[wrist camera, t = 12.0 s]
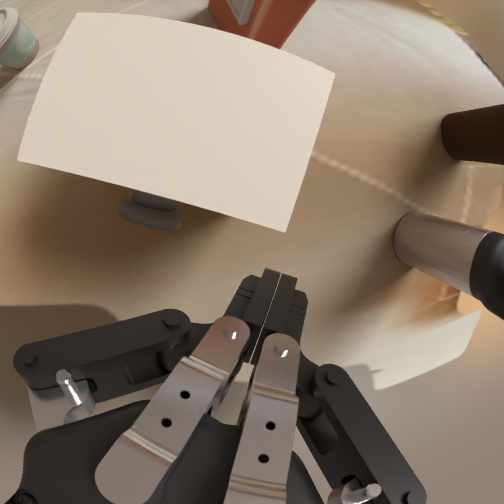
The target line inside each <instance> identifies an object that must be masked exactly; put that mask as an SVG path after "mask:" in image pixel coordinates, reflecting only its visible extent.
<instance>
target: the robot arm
mask: <svg viewBox="0 0 504 504" xmlns="http://www.w3.org/2000/svg"><path fill="white" fill-rule="evenodd" d="M394 250H395V253H396V255H397V257H398V258H399V259H400V261H402V262H404V263H406V264H408V265H410V266H412V267H414V268H416V269H418V270H420V271H422V272H424V273H426V274H429V275H431V276H433V277H435V278H437V279H439V280H441V281H443V282H445V283H447V284H449V285H451V286H453V287H455V288H457V289H459V290H461V291H463V292H465V293H467V294H469V295H471V296H473V297H475V298H476V299H478V300H480V301H481V302H482V303H483V305H484V306H485V307H486V308H487V309H488V310H489V311H490V312H492V313H493V314H495V315H497V316H498V317H500V318H501V319H503V320H504V234H501V233H498V232H494V231H491V230H487V229H483V228H480V227H476V226H472V225H468V224H464V223H461V222H457V221H453V220H449V219H445V218H440V217H436V216H432V215H428V214H423V213H419V212H411V213H409V214H407V215H405V216H404V217H403V218H402V219H401V221H400V222H399V224H398V226H397V228H396V231H395V234H394ZM280 274H281V273H280V272H277V271H274V270H271V269H268V268H265V270H264V272H263V275H262V277H261V278H260V277H257V276H254V275H249V276H248V277H246V278H245V279H243V281H242V282H241V284H240V286H239V288H238V290H237V292H236V294H235V295H234V297H233V299H232V301H231V303H230V305H229V306H228V308H227V310H226V312H225V314H224V315H223V317H221V318H219V319H217V320H216V321H215V322H214V323H211V324H199V323H191V322H190V319H189V317H188V316H187V315H186V314H185V313H184V312H182V311H180V310H177V309H165V310H161V311H157V312H154V313H150V314H146V315H142V316H139V317H135V318H131V319H127V320H123V321H120V322H116V323H112V324H108V325H104V326H100V327H96V328H92V329H88V330H84V331H80V332H76V333H72V334H68V335H63V336H59V337H55V338H51V339H46V340H42V341H37V342H33V343H29V344H25V345H23V346H21V347H20V348H19V349H18V350H17V351H16V353H15V355H14V361H13V362H14V367H15V369H16V371H17V372H18V374H19V375H20V377H21V378H22V379H23V382H24V383H25V385H26V386H27V388H28V393H29V398H30V403H31V408H32V413H33V417H34V421H35V425H36V429H37V434H35V435H34V436H33V437H32V438H31V439H30V440H29V442H28V444H27V446H26V449H25V452H24V462H23V474H22V479H21V483H20V486H19V488H18V490H17V492H16V493H15V494H14V495H13V496H12V497H11V498H10V499H9V500H8V501H7V502H6V503H4V504H324V502H323V500H322V499H321V497H320V495H319V493H318V491H317V489H316V487H315V485H314V483H313V481H312V479H311V477H310V475H309V473H308V471H307V469H306V467H305V465H304V463H303V462H302V460H301V459H300V458H299V456H298V455H297V454H296V453H295V452H294V451H292V447H293V441H294V433H295V426H297V428H298V430H299V431H300V433H301V435H302V437H303V439H304V441H305V442H306V444H307V446H308V448H309V449H310V451H311V453H312V455H313V457H314V459H315V460H316V462H317V464H318V466H319V467H320V469H321V471H322V473H323V474H324V476H325V477H326V479H327V481H328V483H329V485H330V486H331V488H332V491H331V493H330V495H329V497H328V500H327V504H426V499H427V495H426V491H425V489H424V487H423V486H422V484H421V482H420V481H419V480H418V478H417V477H416V475H415V474H414V472H413V470H412V469H411V467H410V466H409V465H408V463H407V461H406V460H405V458H404V457H403V455H402V454H401V452H400V451H399V449H398V448H397V446H396V445H395V443H394V442H393V440H392V439H391V437H390V436H389V434H388V433H387V431H386V430H385V428H384V427H383V425H382V424H381V423H380V421H379V419H378V418H377V416H376V415H375V414H374V412H373V411H372V409H371V407H370V406H369V405H368V403H367V402H366V400H365V399H364V397H363V396H362V394H361V393H360V391H359V390H358V388H357V387H356V385H355V384H354V382H353V381H352V380H351V378H350V377H349V375H348V374H347V372H346V371H344V369H342V368H341V367H339V366H337V365H334V364H324V365H322V366H320V367H319V366H317V365H316V364H314V363H313V362H311V361H310V360H308V359H307V358H306V357H305V356H304V355H303V353H302V351H301V349H300V338H301V334H302V329H303V324H304V319H305V314H306V309H307V304H308V300H307V297H306V294H305V292H302V291H299V290H296V289H295V286H296V282H297V278H295V277H292V276H289V275H286V274H283V273H282V276H281V278H280V281H279V284H278V287H277V290H276V293H275V295H274V292H275V289H276V286H277V283H278V280H279V277H280ZM273 295H274V298H273ZM272 298H273V301H272ZM271 301H272V304H271ZM270 304H271V307H270ZM269 307H270V309H269ZM268 310H269V312H268ZM267 313H268V315H267ZM266 315H267V318H266ZM265 318H266V320H265ZM264 321H265V323H264ZM263 323H264V326H263ZM262 326H263V329H262ZM261 329H262V332H261ZM260 332H261V334H260ZM259 334H260V337H259ZM258 337H259V340H258ZM257 340H258V343H257V346H256V349H255V351H254V354H253V357H252V360H251V362H250V364H252V365H254V368H253V371H252V374H251V376H250V379H249V382H248V385H247V389H246V393H245V396H244V400H243V404H242V407H241V411H240V414H239V418H238V421H237V424H236V425H227V424H223V423H221V422H219V421H218V420H216V419H215V417H216V414H217V412H218V410H219V408H220V406H221V404H222V403H223V401H224V399H225V397H226V395H227V393H228V391H229V389H230V388H231V386H232V384H233V382H234V380H235V378H236V376H237V374H238V373H239V371H240V369H241V367H242V365H243V362H246V363H249V361H250V358H251V355H252V353H253V350H254V347H255V345H256V342H257ZM163 382H164V384H163V385H162V386H161V387H160V389H159V390H158V391H157V393H156V394H155V395H154V397H153V398H152V400H141V401H137V402H133V403H130V404H128V405H125V406H122V407H119V408H116V409H113V410H110V411H107V412H104V413H101V414H98V415H95V416H92V417H89V418H86V417H88V416H90V415H91V414H92V412H93V411H94V409H95V404H96V403H99V402H103V401H106V400H109V399H113V398H116V397H119V396H123V395H126V394H129V393H132V392H136V391H139V390H142V389H145V388H148V387H151V386H154V385H157V384H160V383H163ZM84 418H85V419H84Z"/></svg>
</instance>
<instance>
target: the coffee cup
mask: <svg viewBox="0 0 504 504" xmlns="http://www.w3.org/2000/svg"><path fill="white" fill-rule="evenodd" d="M38 49H39V42H38V40H37V39H36V38H35V36H34V35H33V34H32V32H31V31H30V30H29V29H28V27H27V26H26V25H25V24H24V22H23V21H22V20H21V19H20V17H19V16H18V12H17V10H16V9H13V8H7V7H2V8H0V64H2V65H5V66H9V67H12V68H15V69H21V68H24V67H25V66H27V65H28V64H29V63H30V62H31V61H32V60H33V59H34V57H35V56H36V54H37V52H38Z"/></svg>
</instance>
